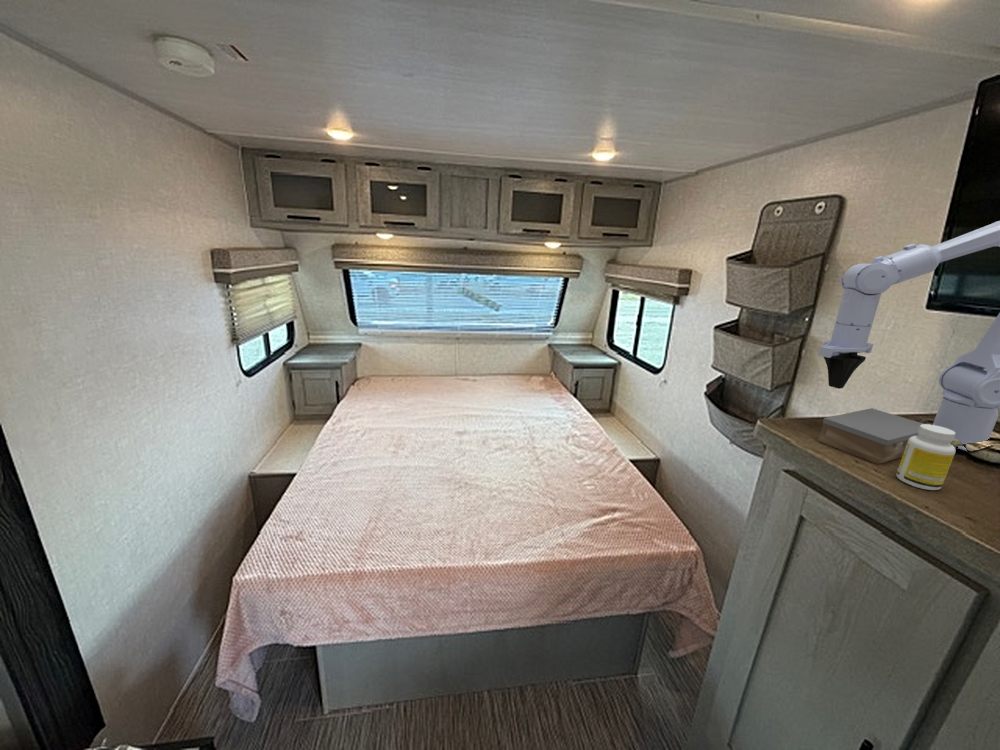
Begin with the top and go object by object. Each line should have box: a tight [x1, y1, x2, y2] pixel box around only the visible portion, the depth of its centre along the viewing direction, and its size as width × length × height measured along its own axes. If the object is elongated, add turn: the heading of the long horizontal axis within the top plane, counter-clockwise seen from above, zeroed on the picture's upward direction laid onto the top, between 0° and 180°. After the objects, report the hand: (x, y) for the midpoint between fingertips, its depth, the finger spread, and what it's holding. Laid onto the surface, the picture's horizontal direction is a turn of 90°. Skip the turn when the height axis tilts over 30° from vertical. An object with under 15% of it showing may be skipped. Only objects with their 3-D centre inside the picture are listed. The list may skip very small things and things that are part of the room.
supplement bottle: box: [895, 423, 957, 491], centre depth 65 cm, size 5×5×10 cm
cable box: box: [817, 422, 908, 465], centre depth 79 cm, size 16×10×4 cm, turn 112°
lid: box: [822, 408, 924, 445], centre depth 78 cm, size 16×10×1 cm, turn 112°
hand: (835, 387), depth 85 cm, fingers closed
